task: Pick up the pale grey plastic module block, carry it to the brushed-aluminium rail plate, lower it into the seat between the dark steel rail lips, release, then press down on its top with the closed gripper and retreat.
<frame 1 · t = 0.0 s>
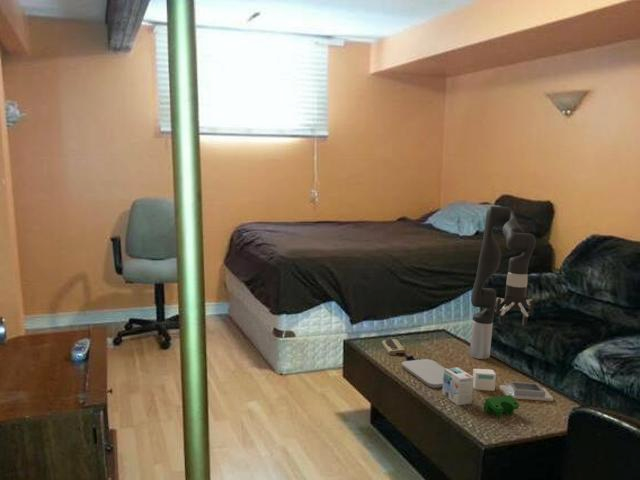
hand: (512, 324, 215), 29 cm above the table, fingers open, 8 cm apart
clamp: (500, 415, 203), on the table
computer: (393, 350, 268), on the table
module: (483, 387, 227), on the table
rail: (525, 394, 222), on the table
light bulb box: (456, 399, 215), on the table
tablet: (430, 376, 238), on the table
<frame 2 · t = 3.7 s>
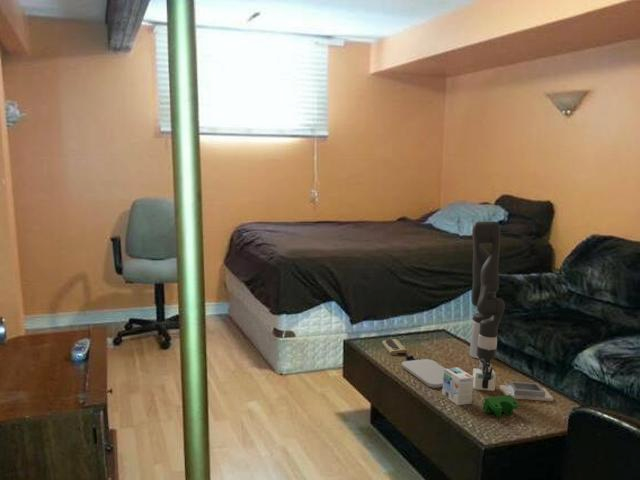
hand: (483, 385, 227), 1 cm above the table, fingers closed on module, 5 cm apart
module: (483, 387, 227), on the table, touching gripper
everything else where it was.
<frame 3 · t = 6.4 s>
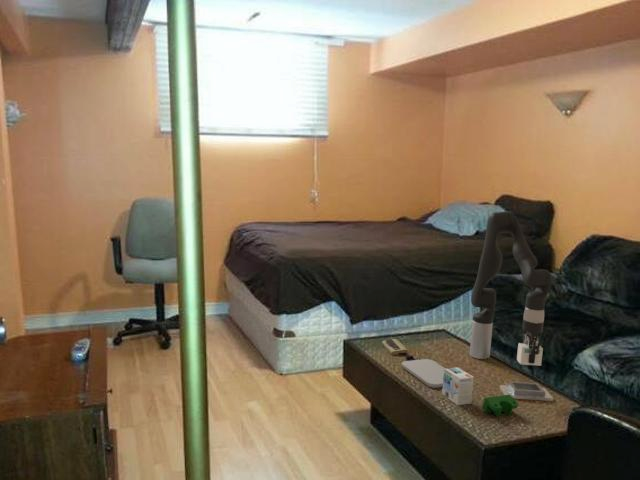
hand: (529, 360, 220), 14 cm above the table, fingers closed on module, 5 cm apart
module: (528, 362, 220), point 13 cm above the table, touching gripper
everything else where it was.
when the fingers open (3 cm above the table, at t = 9.1 s): module drops 1 cm, resting on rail.
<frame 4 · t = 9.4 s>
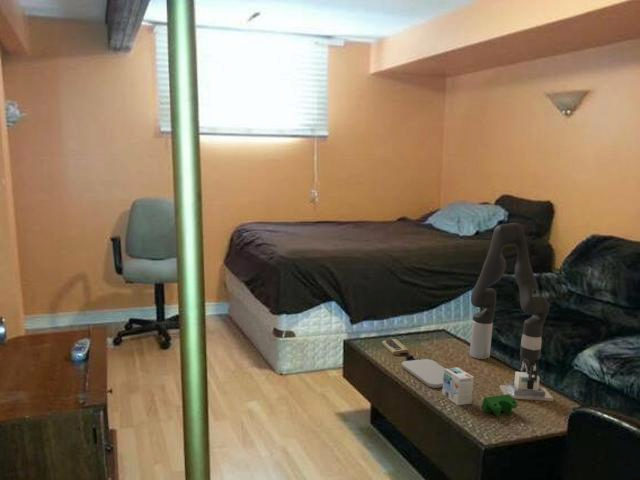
hand: (526, 384, 221), 4 cm above the table, fingers open, 8 cm apart
module: (525, 391, 222), point 1 cm above the table, touching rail
everything else where it was.
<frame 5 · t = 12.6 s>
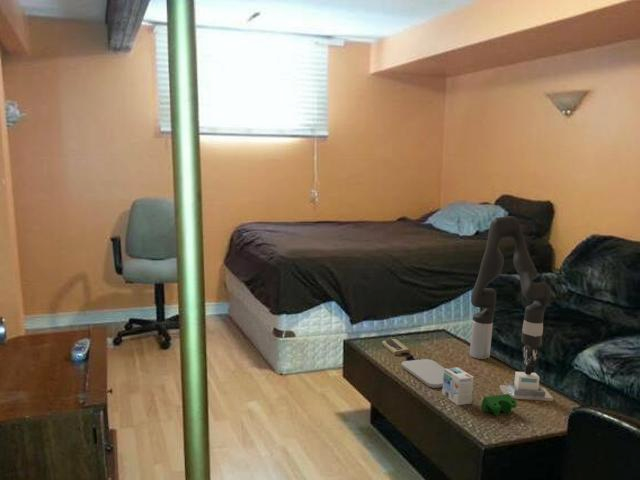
hand: (527, 373, 221), 9 cm above the table, fingers closed
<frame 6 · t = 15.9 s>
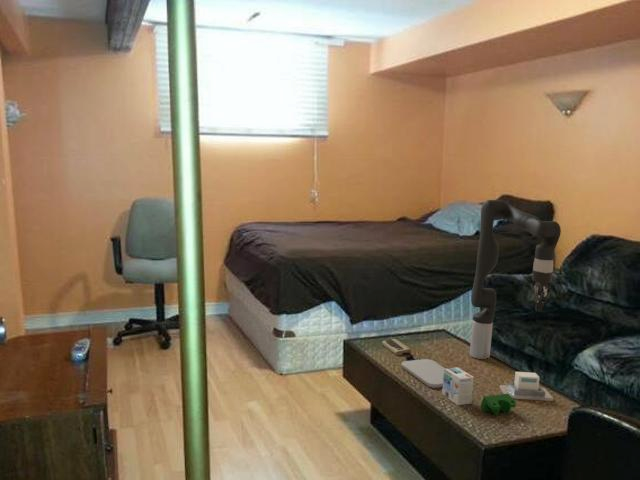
hand: (538, 311, 227), 32 cm above the table, fingers closed
at the end: module 0.2 cm off-centre on the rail, point 1.2 cm above the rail's base; module tilted 0°; the gripper is holding nothing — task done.
